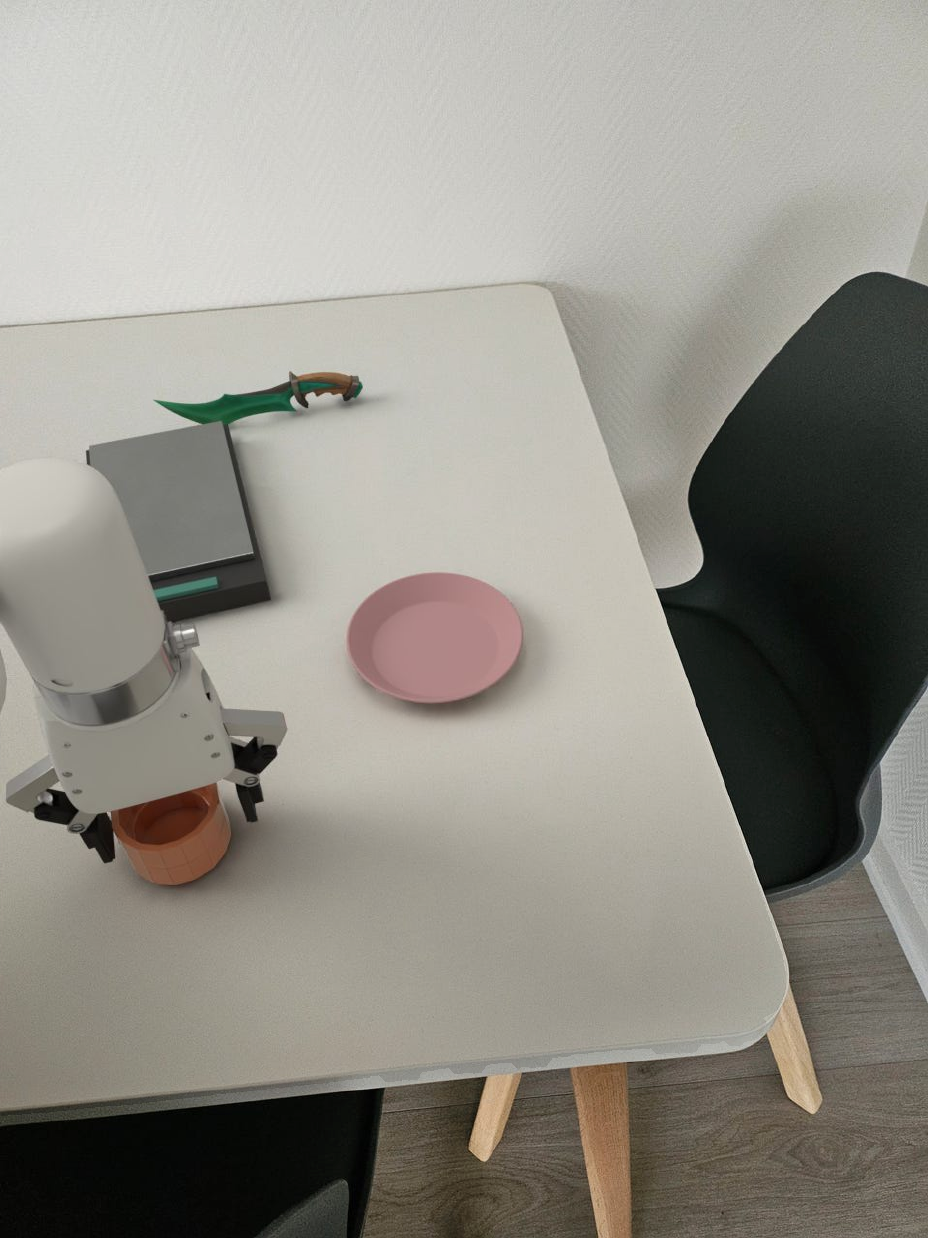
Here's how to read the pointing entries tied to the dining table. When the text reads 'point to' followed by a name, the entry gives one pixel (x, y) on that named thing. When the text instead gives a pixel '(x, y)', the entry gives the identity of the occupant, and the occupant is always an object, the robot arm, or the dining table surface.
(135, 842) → the bowl
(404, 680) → the plate
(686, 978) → the dining table surface
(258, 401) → the knife
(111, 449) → the scale
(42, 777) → the robot arm
